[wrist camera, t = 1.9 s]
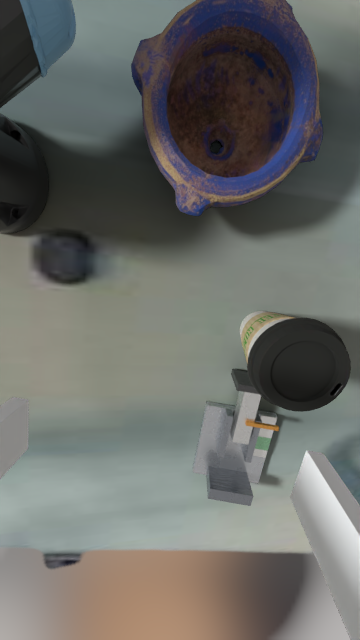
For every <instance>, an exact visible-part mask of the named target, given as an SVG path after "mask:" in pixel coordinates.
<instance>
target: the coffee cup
mask: <svg viewBox="0 0 360 640" xmlns="http://www.w3.org/2000/svg"><path fill="white" fill-rule="evenodd" d="M240 335H241V341H242V346H243V350H244V353H245V357H246V361H247V369H248V376H249V378H250V381H251V384H252V385H253V387H254V388H255V390H256V391H257V392H258V393H259V394H260V395H261V396H262V397H263V398H264V399H266V400H267V401H269V402H270V403H272V404H275V405H277V406H280V407H282V408H284V409H287V410H292V411H310V410H314V409H317V408H320V407H323V406H325V405H327V404H328V403H330V402H331V401H333V400H334V399H335V398H336V397H337V396H338V395H339V394H340V393H341V392H342V390H343V389H344V387H345V386H346V384H347V381H348V379H349V375H350V370H351V367H350V358H349V355H348V352H347V351H346V347H345V345H344V343H343V341H342V340H341V338H340V337H339V336H338V335H337V333H336V332H335V331H334V330H333V329H331V328H330V327H329V326H327V325H326V324H324V323H322V322H320V321H317V320H314V319H309V318H295V317H290V316H286V315H282V314H277V313H273V312H265V311H256V312H253V313H251V314H249V315H248V316H247V317H245V319H244V320H243V321H242V323H241V326H240Z"/></svg>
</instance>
